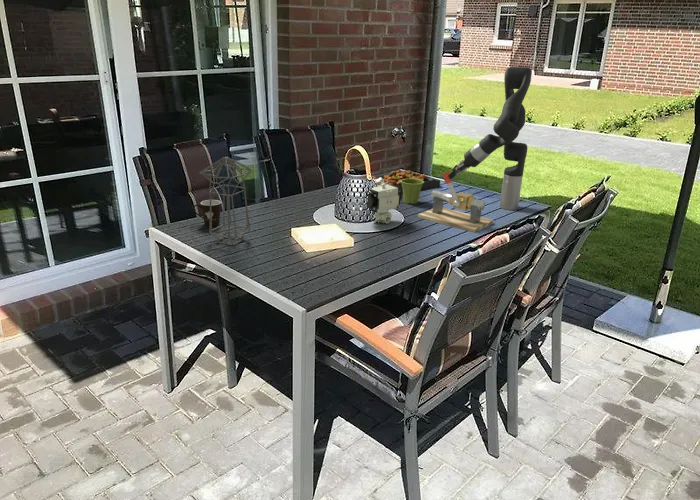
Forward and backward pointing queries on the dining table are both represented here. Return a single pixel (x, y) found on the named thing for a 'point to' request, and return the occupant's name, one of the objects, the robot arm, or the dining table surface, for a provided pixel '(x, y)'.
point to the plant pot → (411, 190)
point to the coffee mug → (206, 212)
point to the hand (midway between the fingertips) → (450, 177)
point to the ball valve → (384, 201)
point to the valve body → (465, 203)
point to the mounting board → (455, 219)
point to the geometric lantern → (227, 195)
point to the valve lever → (451, 189)
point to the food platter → (396, 178)
